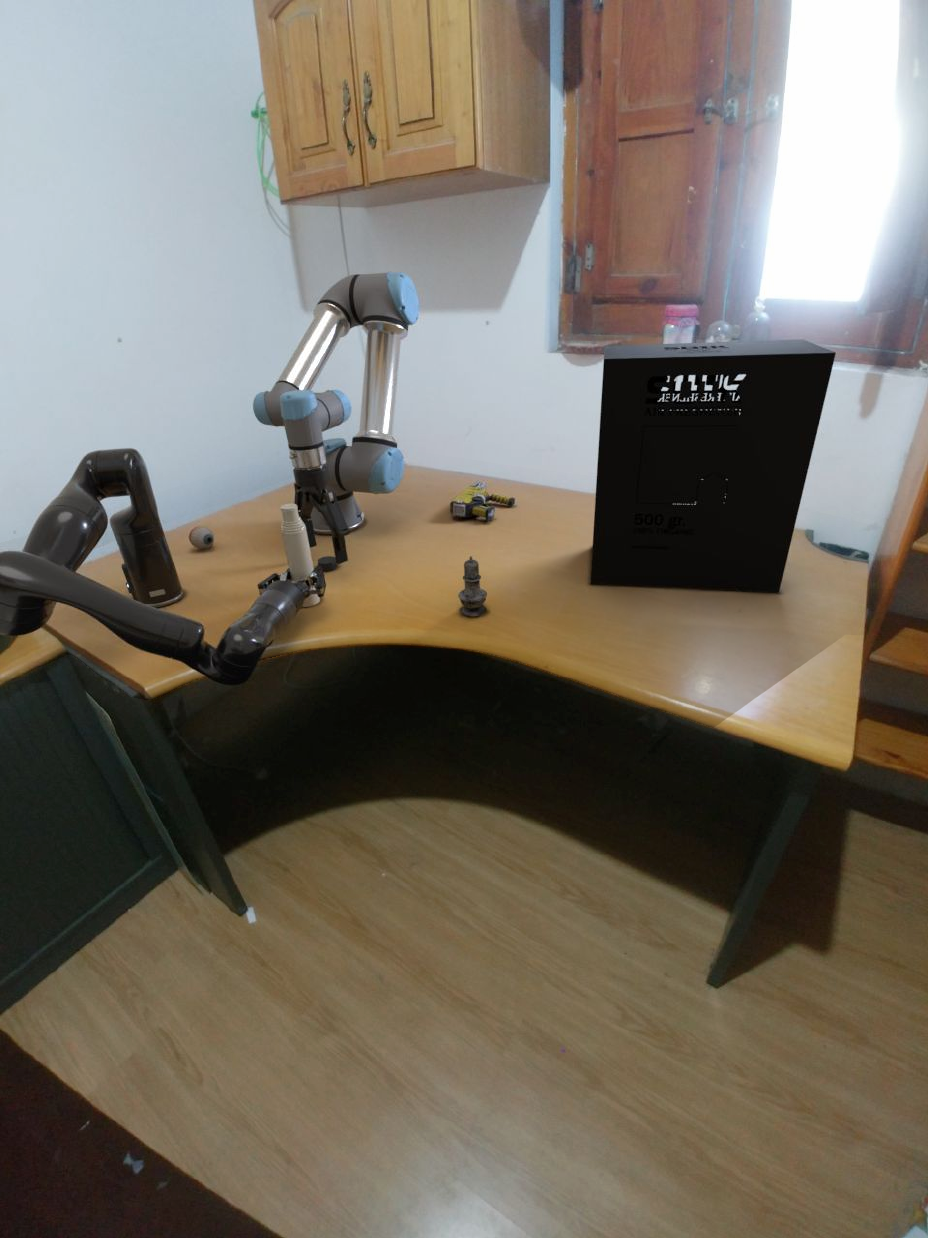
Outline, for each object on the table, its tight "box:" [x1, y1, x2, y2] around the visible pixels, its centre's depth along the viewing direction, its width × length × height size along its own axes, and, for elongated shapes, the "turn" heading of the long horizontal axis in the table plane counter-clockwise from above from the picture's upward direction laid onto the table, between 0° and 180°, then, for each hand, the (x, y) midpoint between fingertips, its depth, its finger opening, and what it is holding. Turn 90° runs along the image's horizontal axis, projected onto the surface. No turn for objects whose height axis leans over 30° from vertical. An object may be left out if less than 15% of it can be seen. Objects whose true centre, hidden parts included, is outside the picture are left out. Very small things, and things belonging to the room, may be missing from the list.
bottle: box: [280, 503, 321, 608], centre depth 125 cm, size 5×5×22 cm
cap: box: [317, 555, 338, 573], centre depth 144 cm, size 4×4×2 cm
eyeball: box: [188, 525, 215, 550], centre depth 158 cm, size 6×6×6 cm
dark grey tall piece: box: [457, 555, 488, 617], centre depth 120 cm, size 6×6×12 cm
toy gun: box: [449, 480, 516, 522], centre depth 174 cm, size 5×24×15 cm
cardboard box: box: [590, 338, 837, 594], centre depth 124 cm, size 38×20×45 cm, turn 78°
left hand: (307, 569), depth 129 cm, fingers closed on bottle, 5 cm apart
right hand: (326, 554), depth 143 cm, fingers open, 13 cm apart
